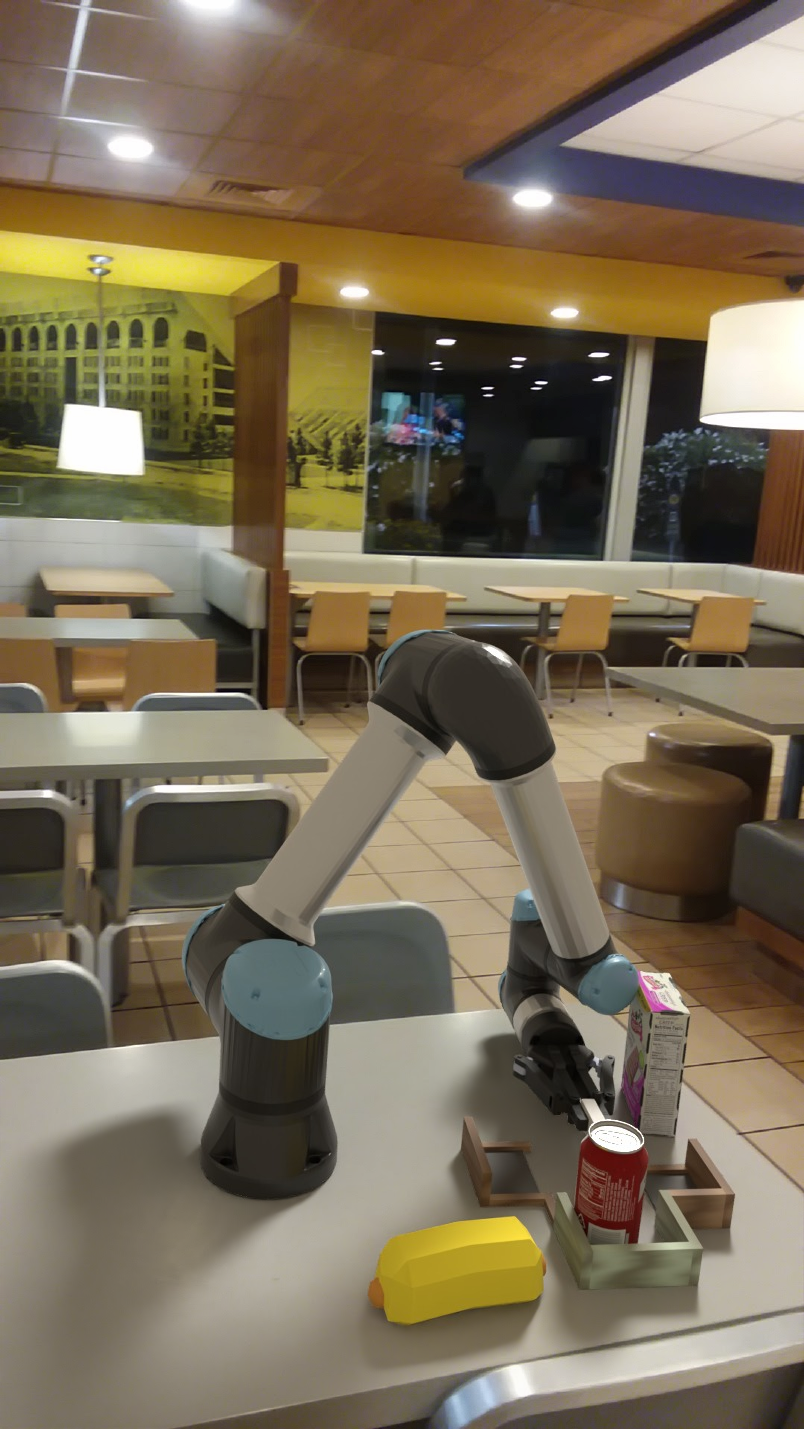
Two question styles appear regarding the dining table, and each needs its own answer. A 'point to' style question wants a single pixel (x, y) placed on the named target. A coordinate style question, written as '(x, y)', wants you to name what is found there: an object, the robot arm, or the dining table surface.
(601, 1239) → the soda can
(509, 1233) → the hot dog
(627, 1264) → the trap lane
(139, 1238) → the dining table surface
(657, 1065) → the candy bar box
